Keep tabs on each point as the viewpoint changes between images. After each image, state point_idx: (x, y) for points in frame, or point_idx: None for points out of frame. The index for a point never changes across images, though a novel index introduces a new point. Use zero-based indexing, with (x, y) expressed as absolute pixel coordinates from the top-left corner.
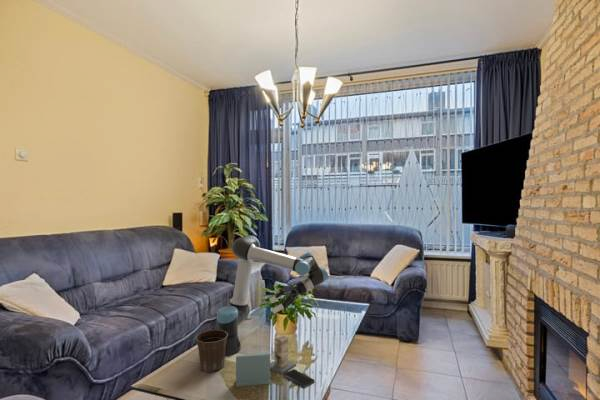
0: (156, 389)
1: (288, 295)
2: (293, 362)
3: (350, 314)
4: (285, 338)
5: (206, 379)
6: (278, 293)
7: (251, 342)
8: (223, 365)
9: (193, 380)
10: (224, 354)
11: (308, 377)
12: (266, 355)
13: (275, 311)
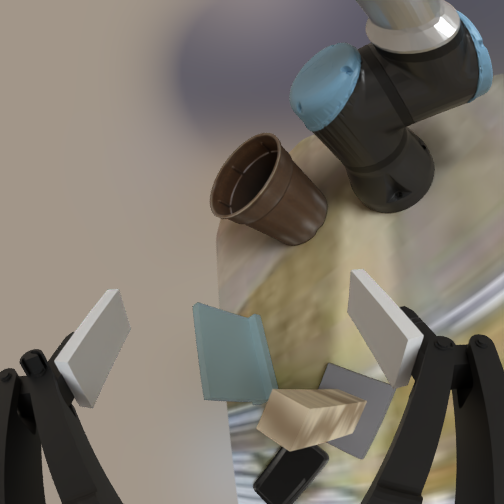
0: None
1: (377, 488)
2: (366, 449)
3: None
4: (277, 441)
5: (255, 249)
6: (53, 359)
7: (477, 197)
8: (300, 242)
9: (249, 230)
10: (282, 230)
11: (291, 500)
12: (203, 388)
13: (356, 317)
